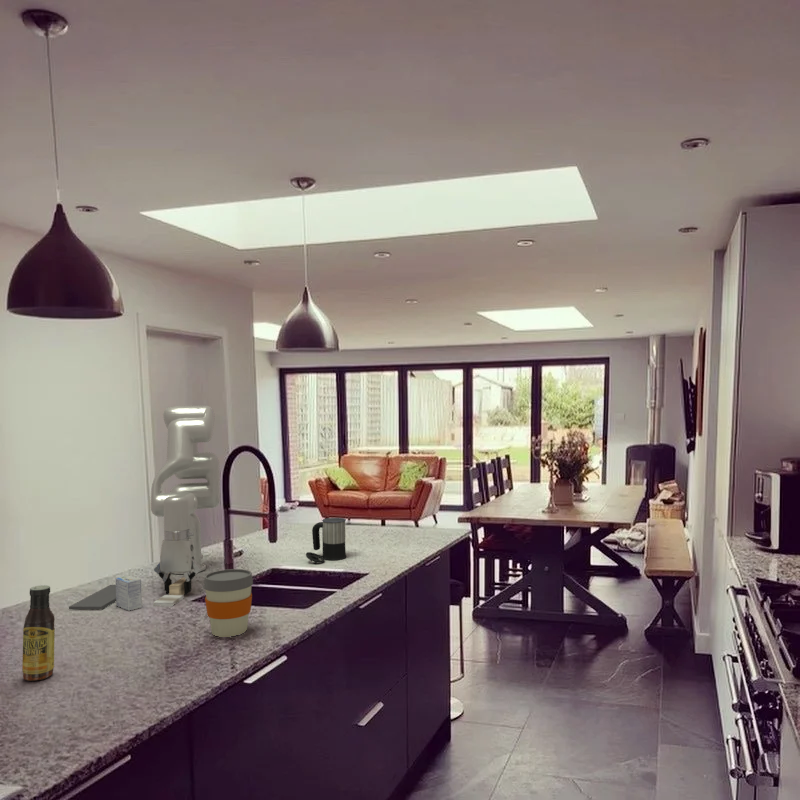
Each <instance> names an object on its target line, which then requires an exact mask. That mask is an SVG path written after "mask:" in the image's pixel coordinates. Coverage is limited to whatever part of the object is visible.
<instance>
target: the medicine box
mask: <svg viewBox="0 0 800 800" xmlns="http://www.w3.org/2000/svg"><path fill="white" fill-rule="evenodd" d="M115 585H116V602H115V606H116V607H117V606H118V607H117V608H120V607H121V609H122V610H126V611H128V612H131V611H134V609H135V610H138V608H139V609H142V608H143V592H142V591H143V590H142V588H143V587H142V579H141V578H139V577H137V576H133V575H123V576H119V577H116V578H115ZM130 610H131V611H130Z"/></svg>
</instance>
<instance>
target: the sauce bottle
mask: <svg viewBox="0 0 800 800" xmlns="http://www.w3.org/2000/svg"><path fill="white" fill-rule="evenodd" d="M50 593H51V586H50V585H46V584H44V585H41V584H40V585H35V586H32V587H30V588H29V596H30V605H29V610H28V612H27V614H26V616H25V618H24V624H23V629H22V660H21V661H22V665H21V666H22V668H21V669H22V679H23V680H25V681H28V682H35V681H42V680H45V679H47V678H49V677H51V676H52V675H53V673H54V668H55V639H56V637H55V635H56V634H55V629H56V628H55V615H54V613H53V611H52V610H51V608H50Z"/></svg>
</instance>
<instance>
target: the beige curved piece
mask: <svg viewBox="0 0 800 800" xmlns="http://www.w3.org/2000/svg"><path fill="white" fill-rule="evenodd" d="M185 581H186V579H185V576H182V577H181V578H179V579H178V580H176V581H175V582H172V584H171V585H170V586H169V594H164V595H162V596H161V597H160V598H158V599H157V600H155V601H153V603H152V606H153V607H174V606H175V605H177V604H178V603H180V602H181V601H182V600H184V599H183V598H185V597H184V582H185ZM192 586H193V585H191V589H192ZM181 599H182V600H181ZM180 600H181V601H180ZM179 601H180V602H179ZM177 602H178V603H177ZM176 603H177V604H176ZM174 604H175V605H174ZM160 605H161V606H160ZM173 605H174V606H173Z"/></svg>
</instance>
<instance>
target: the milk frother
mask: <svg viewBox="0 0 800 800" xmlns="http://www.w3.org/2000/svg"><path fill="white" fill-rule="evenodd" d="M346 520H347V518H342V517H328V518H323V519H321V521H320V522H317V523H315V524H314V525H313V526H312V529H311V532H312V533H311V535H312V536H311V537H312V546H313V550H314V551H318V550H320V549H321V542H320V541H321V539H320V538H321V537H320V528H322V529H321V530H322V555H320V554H317V553H315V552H311V551H309V552H306V553H305V557H306V558H307V560H309V561H311V562H313V563H314V564H317V563H318V564H319V563H321V564H322V563H325V560H326V559H327V561H340V559H341V560H344V558H345V559H346V558H347V551H346V550H347V549H346Z"/></svg>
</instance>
